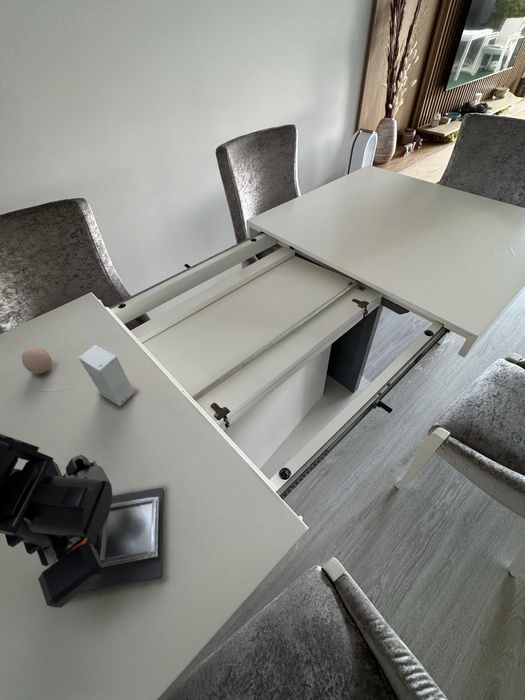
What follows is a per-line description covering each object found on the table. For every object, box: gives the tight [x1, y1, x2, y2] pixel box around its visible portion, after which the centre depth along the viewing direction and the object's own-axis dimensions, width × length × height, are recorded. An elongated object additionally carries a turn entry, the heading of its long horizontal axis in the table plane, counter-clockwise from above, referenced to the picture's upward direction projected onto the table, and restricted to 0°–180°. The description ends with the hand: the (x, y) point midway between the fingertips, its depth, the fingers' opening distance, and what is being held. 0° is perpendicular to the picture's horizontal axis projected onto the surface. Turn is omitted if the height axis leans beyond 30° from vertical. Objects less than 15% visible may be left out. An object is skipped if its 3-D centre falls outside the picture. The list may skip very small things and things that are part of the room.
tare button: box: [72, 538, 89, 550], centre depth 53 cm, size 3×3×2 cm
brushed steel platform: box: [97, 497, 159, 567], centre depth 53 cm, size 9×9×1 cm
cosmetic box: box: [78, 344, 135, 407], centre depth 69 cm, size 6×4×12 cm
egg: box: [21, 346, 53, 375], centre depth 75 cm, size 5×5×7 cm
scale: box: [69, 487, 165, 595], centre depth 54 cm, size 15×13×3 cm
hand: (77, 539), depth 52 cm, fingers closed, pressing on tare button
